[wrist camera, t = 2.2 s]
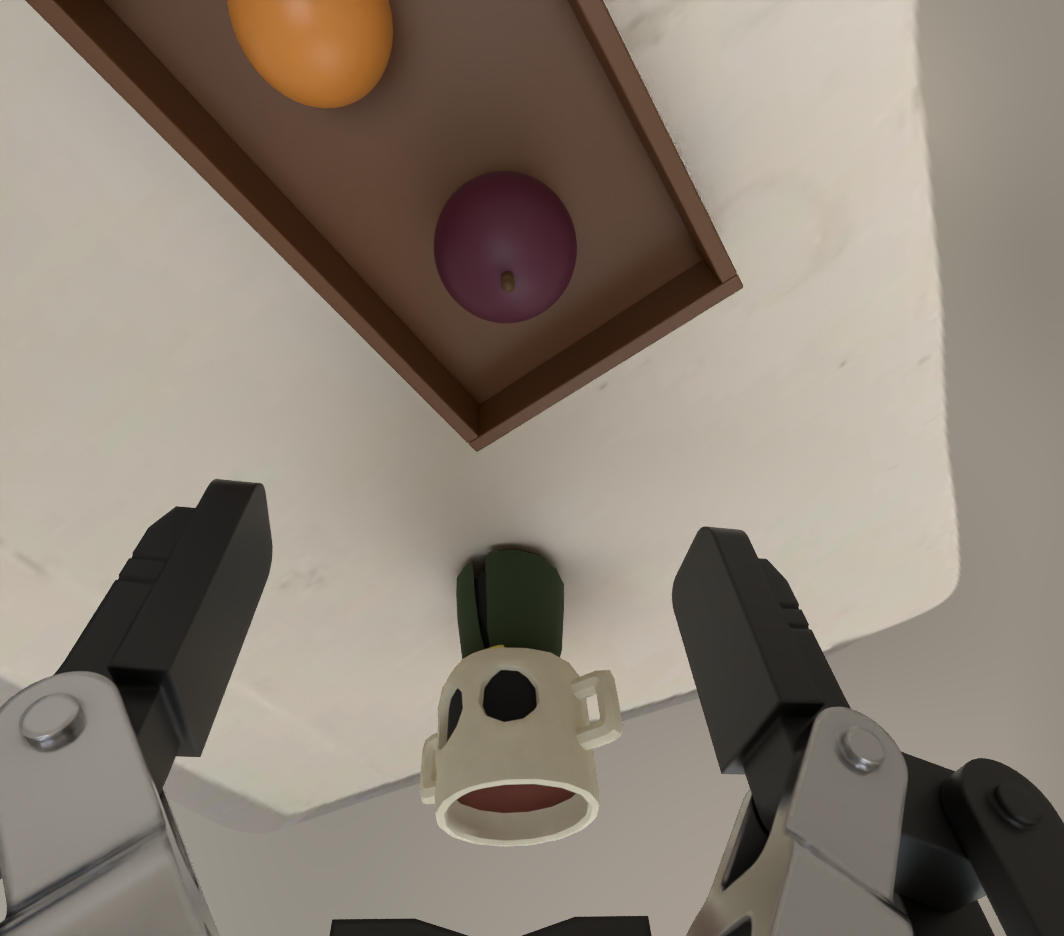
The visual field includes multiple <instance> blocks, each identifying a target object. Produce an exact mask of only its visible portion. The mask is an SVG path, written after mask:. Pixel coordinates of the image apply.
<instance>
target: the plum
mask: <svg viewBox="0 0 1064 936" xmlns="http://www.w3.org/2000/svg"><path fill="white" fill-rule="evenodd" d="M434 257H435V263H436V267H437V271H438V273H439V276H440V278H441V281H442V283H443V285H444V286H445V288H446V290H447V291H448V293H449V294H450V295H451V297H452V298H453V299H454V300H455V301H456V302H457V303H458V304H459V305H460V306H461V307H463V308H464V309H465V310H466V311H468V312H469V313H471V314H473V315H474V316H477V317H479V318H481V319H484V320H487V321H491V322H496V323H517V322H522V321H526V320H529V319H532V318H534V317H536V316H538V315H540V314H541V313H543V312H545V311H546V310H547V309H549V308H550V307H551V306H552V305H553V304H554V303H555V302H556V301H557V300H558V299H559V298H560V296H561V295H562V294H563V292H564V291H565V289H566V288H567V286H568V284H569V282H570V280H571V277H572V275H573V271H574V268H575V263H576V257H577V241H576V233H575V229H574V225H573V222H572V219H571V217H570V214H569V212H568V211H567V209H566V207H565V205H564V204H563V202H562V201H561V200H560V198H559V197H558V196H557V195H556V194H555V193H554V192H553V190H552V189H550V188H549V187H548V186H547V185H545V184H544V183H543V182H541V181H539V180H537V179H536V178H533V177H531V176H528V175H526V174H523V173H519V172H513V171H495V172H490V173H486V174H483V175H480V176H477V177H475V178H473V179H471V180H469V181H468V182H466V183H465V184H464V185H462V186H461V187H460V188H459V189H458V190H457V191H455V192H454V193H453V195H452V196H451V197H450V198H449V200H448V201H447V203H446V204H445V206H444V208H443V209H442V212H441V214H440V216H439V219H438V221H437V225H436V229H435V235H434Z"/></svg>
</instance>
